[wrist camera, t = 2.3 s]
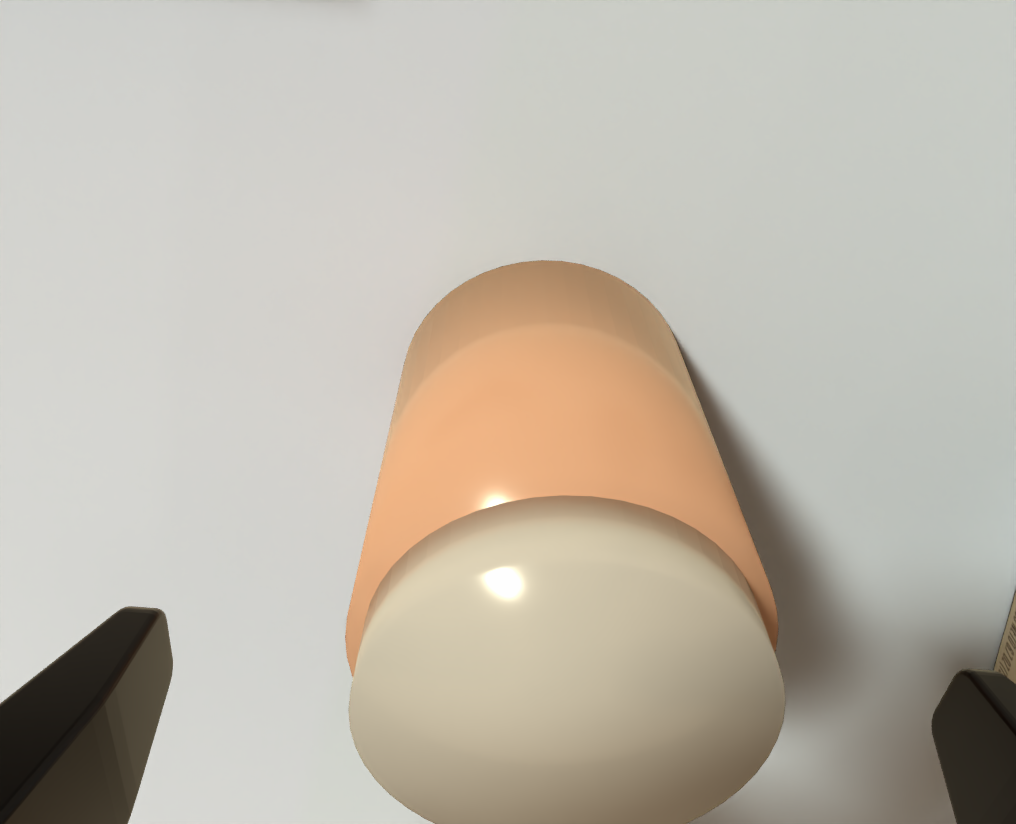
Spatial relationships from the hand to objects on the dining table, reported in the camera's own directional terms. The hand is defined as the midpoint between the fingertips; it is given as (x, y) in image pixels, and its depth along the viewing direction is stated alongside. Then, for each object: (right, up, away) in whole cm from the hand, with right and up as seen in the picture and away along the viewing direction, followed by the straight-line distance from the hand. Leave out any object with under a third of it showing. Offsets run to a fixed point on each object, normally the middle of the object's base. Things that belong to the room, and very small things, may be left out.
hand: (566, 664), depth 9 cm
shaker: (0, +3, +5) cm, 6 cm away
